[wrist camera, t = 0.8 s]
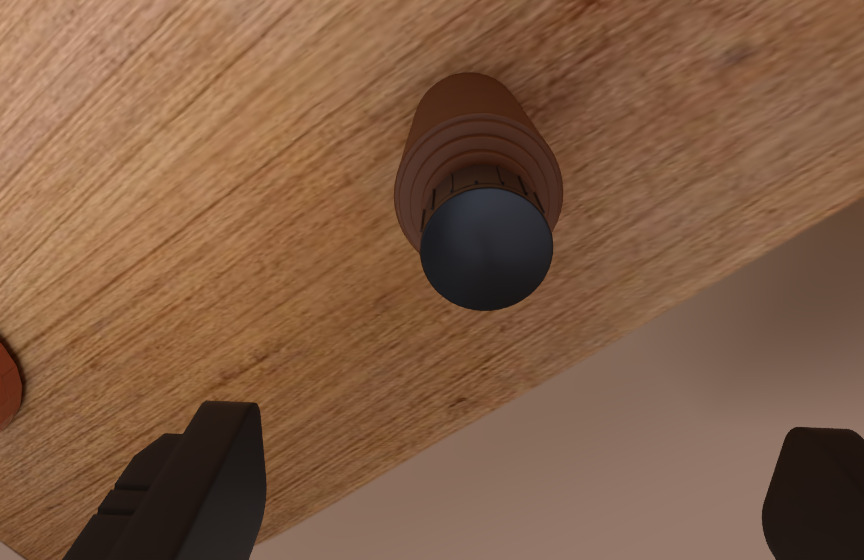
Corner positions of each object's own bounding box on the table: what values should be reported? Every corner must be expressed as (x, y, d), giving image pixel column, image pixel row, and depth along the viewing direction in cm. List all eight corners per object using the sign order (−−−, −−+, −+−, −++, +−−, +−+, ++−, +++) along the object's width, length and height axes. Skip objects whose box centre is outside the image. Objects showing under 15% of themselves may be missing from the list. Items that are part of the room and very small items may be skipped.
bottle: (517, 185, 37) (577, 341, 20) (412, 181, 37) (381, 334, 20) (527, 74, 35) (606, 144, 17) (413, 70, 35) (379, 136, 18)
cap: (535, 278, 22) (546, 314, 19) (421, 274, 22) (417, 309, 19) (547, 165, 20) (561, 188, 17) (424, 161, 20) (420, 183, 18)
